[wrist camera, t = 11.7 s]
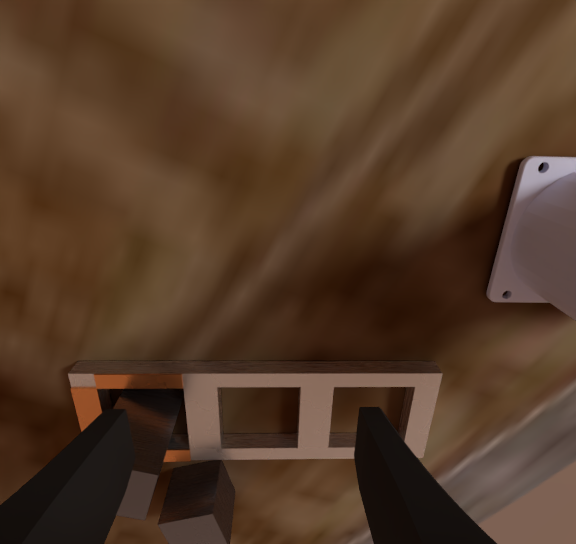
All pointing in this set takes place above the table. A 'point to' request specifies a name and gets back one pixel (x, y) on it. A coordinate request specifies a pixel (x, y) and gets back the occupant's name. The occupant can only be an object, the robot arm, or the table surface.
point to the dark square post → (147, 442)
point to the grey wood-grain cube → (198, 505)
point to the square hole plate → (304, 374)
